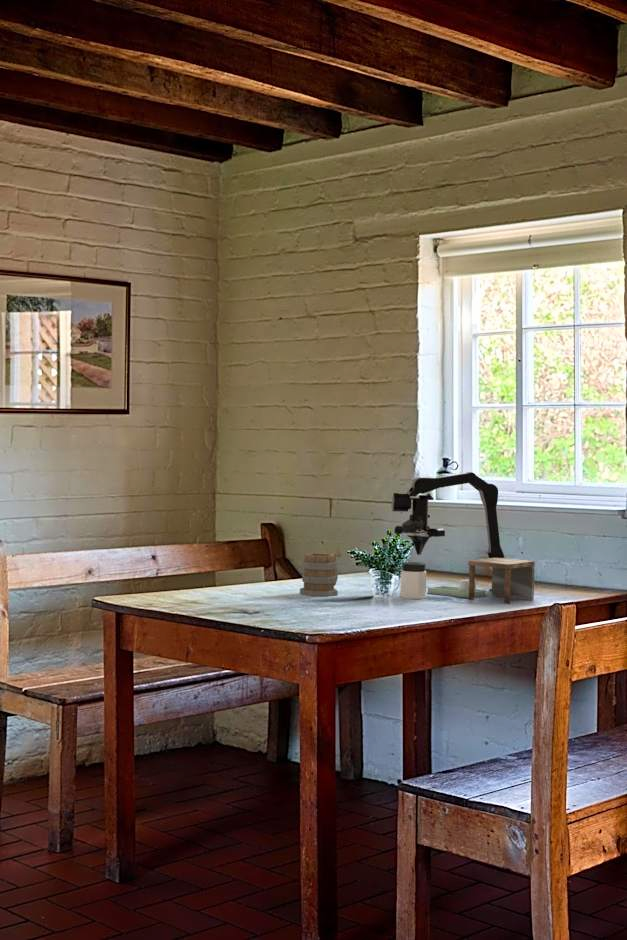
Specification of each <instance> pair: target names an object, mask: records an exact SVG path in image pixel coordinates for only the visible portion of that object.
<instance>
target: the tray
mask: <svg viewBox="0 0 627 940" xmlns="http://www.w3.org/2000/svg"><path fill="white" fill-rule="evenodd" d="M458 584H459V587H458V586H450V585H439V586H438V585H437V586H430V587H427V594H428V595H429V594H431V595H440V596H447V597H448V596H449V597H457V598H465V599H469V578H466V579H461V580H459V583H458ZM486 591H487V590H485V589H477V580H476V579H475V595H474V599H475V598H481V597H485V596H486V594H487V592H486Z"/></svg>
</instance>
